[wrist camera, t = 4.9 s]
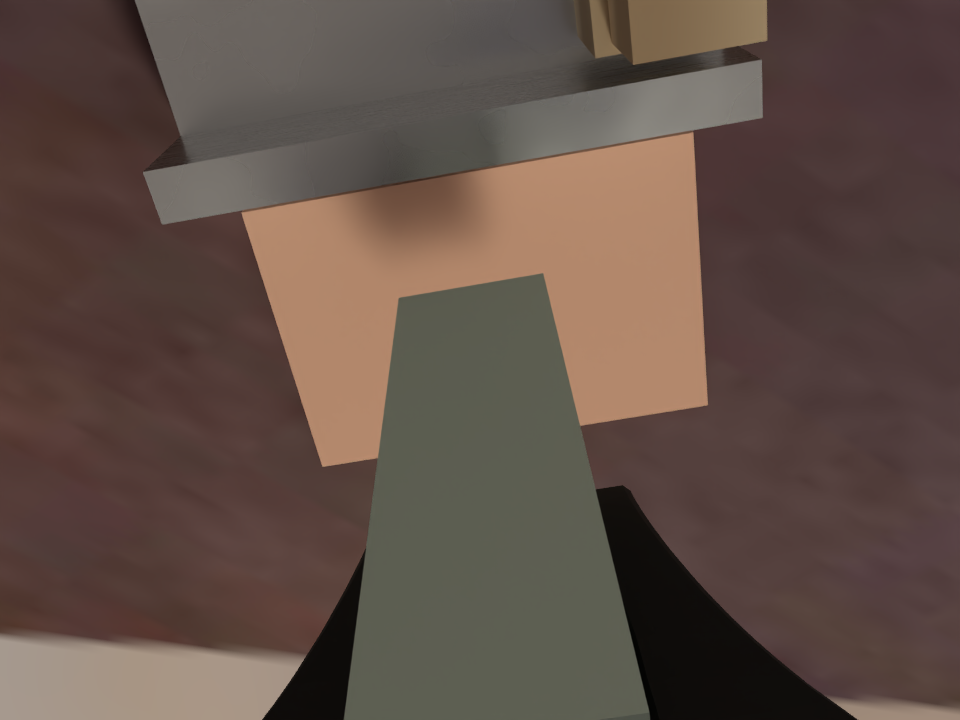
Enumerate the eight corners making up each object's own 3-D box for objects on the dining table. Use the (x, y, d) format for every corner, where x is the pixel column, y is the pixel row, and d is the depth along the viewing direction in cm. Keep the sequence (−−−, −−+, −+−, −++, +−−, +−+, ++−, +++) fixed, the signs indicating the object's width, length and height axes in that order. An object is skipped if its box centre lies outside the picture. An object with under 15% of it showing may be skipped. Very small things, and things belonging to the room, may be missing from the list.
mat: (689, 128, 19) (693, 132, 19) (704, 399, 22) (707, 405, 22) (244, 208, 20) (241, 212, 19) (324, 460, 23) (322, 466, 23)
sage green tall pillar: (543, 272, 15) (650, 712, 7) (583, 544, 18) (691, 1078, 10) (398, 297, 15) (339, 756, 7) (461, 563, 18) (471, 1104, 10)
